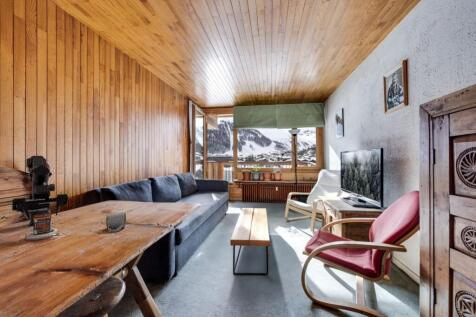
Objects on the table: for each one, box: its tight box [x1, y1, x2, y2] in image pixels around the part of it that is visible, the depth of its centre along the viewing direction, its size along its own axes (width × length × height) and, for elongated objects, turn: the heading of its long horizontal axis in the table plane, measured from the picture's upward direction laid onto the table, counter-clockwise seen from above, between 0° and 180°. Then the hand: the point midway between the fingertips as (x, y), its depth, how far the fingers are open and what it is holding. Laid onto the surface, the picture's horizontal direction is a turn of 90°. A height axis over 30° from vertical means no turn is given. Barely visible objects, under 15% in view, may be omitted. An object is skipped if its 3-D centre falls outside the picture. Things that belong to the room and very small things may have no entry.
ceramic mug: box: [105, 211, 127, 233], centre depth 105 cm, size 11×8×8 cm
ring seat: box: [24, 228, 60, 241], centre depth 95 cm, size 11×11×2 cm
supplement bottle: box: [32, 208, 52, 235], centre depth 95 cm, size 6×6×11 cm
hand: (43, 216), depth 94 cm, fingers open, 9 cm apart
